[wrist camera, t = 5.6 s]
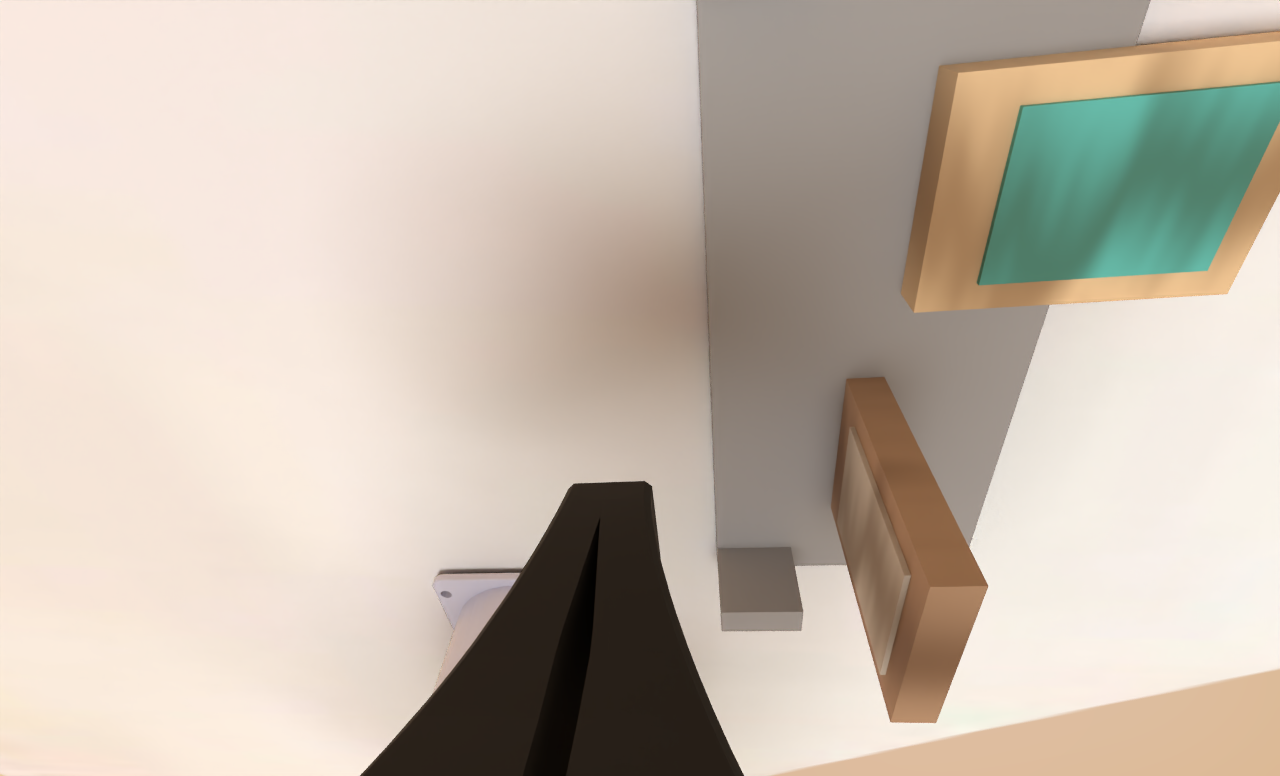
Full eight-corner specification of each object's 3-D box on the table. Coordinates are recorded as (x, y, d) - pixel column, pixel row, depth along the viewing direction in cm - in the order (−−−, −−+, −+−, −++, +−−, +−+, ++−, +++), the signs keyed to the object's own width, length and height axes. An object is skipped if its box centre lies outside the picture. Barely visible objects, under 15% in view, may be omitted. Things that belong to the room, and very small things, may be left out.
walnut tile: (863, 505, 23) (936, 723, 16) (826, 507, 23) (885, 722, 16) (884, 376, 19) (988, 586, 13) (841, 379, 19) (922, 587, 13)
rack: (958, 552, 25) (995, 629, 22) (717, 557, 26) (721, 631, 23) (1185, -154, 12) (1341, -191, 9) (693, -90, 13) (697, -106, 10)
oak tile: (900, 293, 18) (1195, 274, 17) (915, 315, 16) (1231, 296, 16) (939, 65, 14) (1311, 27, 13) (960, 74, 13) (1368, 33, 12)
